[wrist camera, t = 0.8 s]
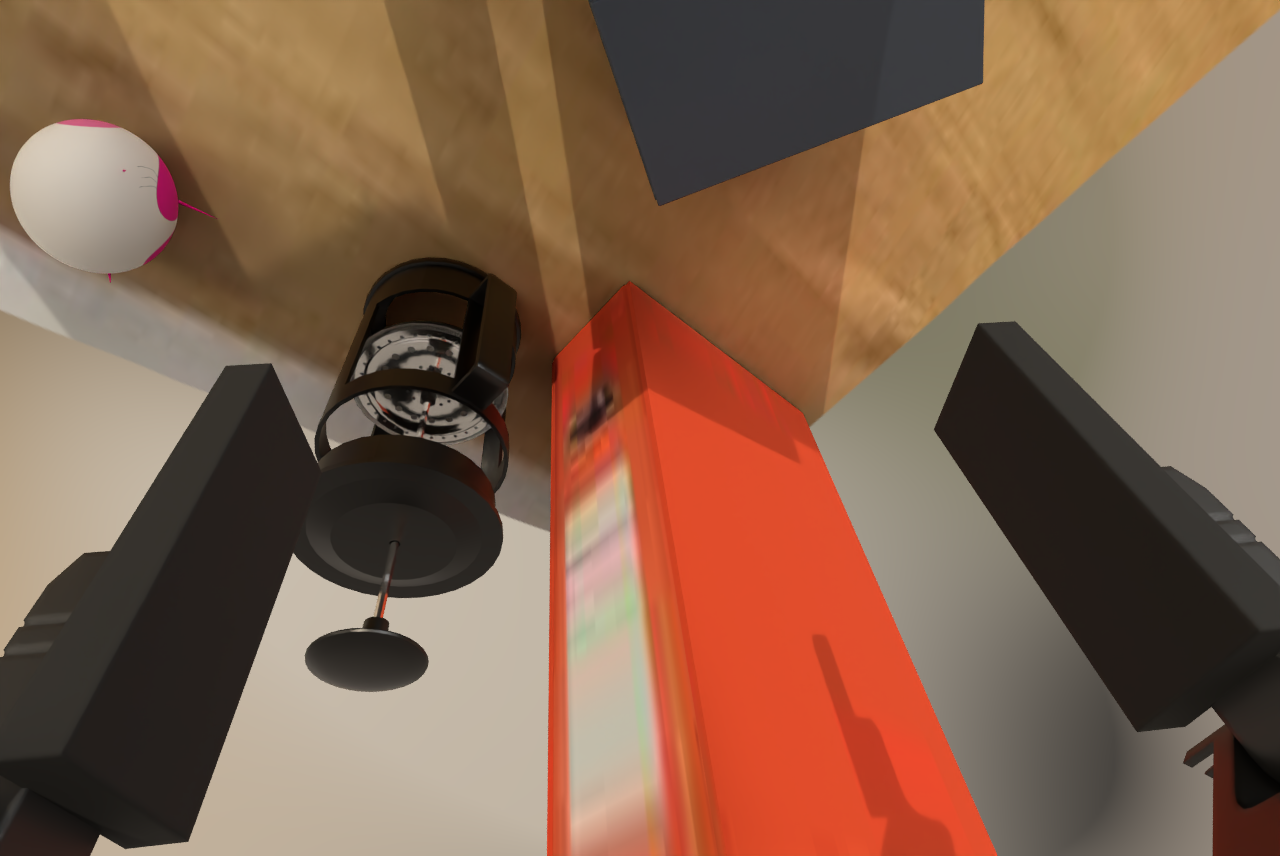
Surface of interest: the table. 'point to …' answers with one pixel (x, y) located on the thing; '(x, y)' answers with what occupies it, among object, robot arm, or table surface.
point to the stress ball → (94, 196)
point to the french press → (411, 465)
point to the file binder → (720, 624)
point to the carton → (775, 75)
